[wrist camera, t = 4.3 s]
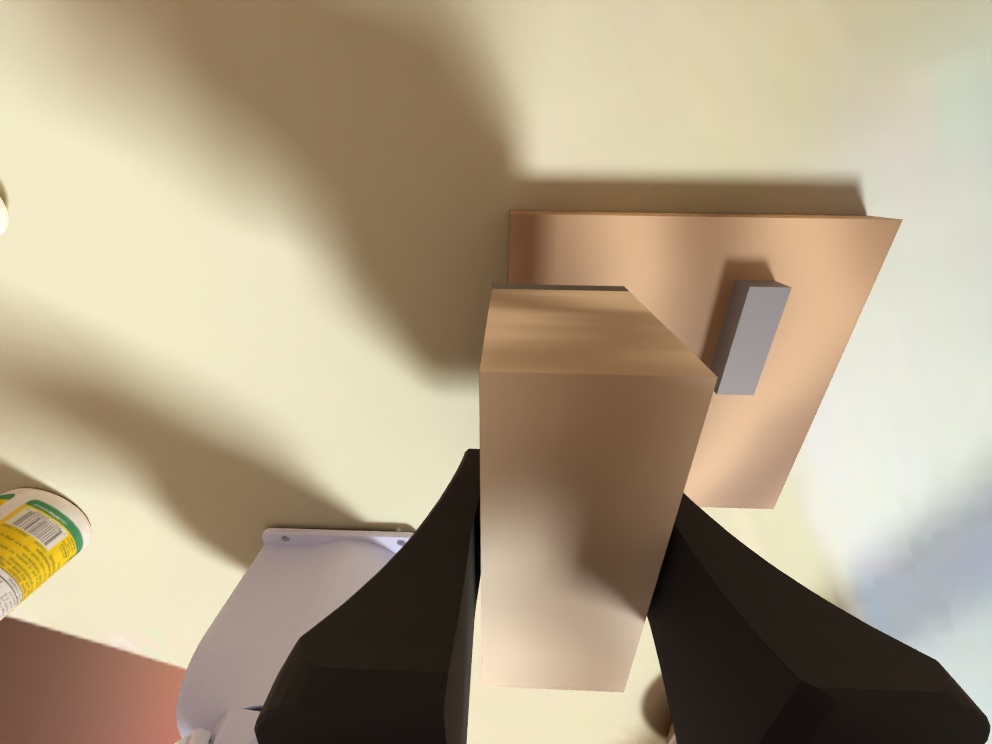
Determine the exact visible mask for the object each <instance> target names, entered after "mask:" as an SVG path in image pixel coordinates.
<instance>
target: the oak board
mask: <svg viewBox="0 0 992 744" xmlns="http://www.w3.org/2000/svg"><path fill="white" fill-rule="evenodd" d="M901 222H902V220H900V219H892V218H883V217H874V216H848V215H780V214H713V213H645V212H578V211H510V218H509V257H508V284H535V285H588V286H624V287H625V288H626V289H628V290H629V291H630V292H631V293H632V294H633V295H634V296H635V297H636V298H637V299H638V300H639V301H640V302H641V303H642V304H643V305H644V306H645V307H646V308H647V309H648V310H649V311H650V312H651V313H652V314H653V315H654V316H655V317H656V318H657V319H658V320H659V321H660V322H662V323H663V324H664V325H665V326H666V327H667V328H668V329H669V330H670V331H671V332H672V333H673V334H674V335H675V336H676V337H677V338H678V339H679V340H680V341H681V342H682V343H683V344H684V345H685V346H686V347H687V348H688V349H689V350H690V351H691V352H692V353H693V354H694V355H695V356H697V357H698V358H699V359H700V360H701V361H702V362H703V363H704V364H705V365H706V366H707V367H708V368H709V369H710V368H711V364H712V361H713V357H714V354H715V350H716V347H717V343H718V340H719V336H720V333H721V329H722V326H723V322H724V319H725V315H726V312H727V308H728V305H729V301H730V298H731V294H732V291H733V287H734V284H735V280H759V281H777V282H779V283H782V284H784V285H787V286H789V287H792V288H791V291H790V294H789V297H788V300H787V302H786V305H785V308H784V311H783V314H782V317H781V319H780V322H779V325H778V328H777V331H776V334H775V336H774V339H773V342H772V345H771V348H770V351H769V353H768V356H767V359H766V362H765V365H764V368H763V370H762V373H761V376H760V379H759V382H758V384H757V387H756V390H755V393H754V395H719V394H716V393H715V392H713V395H712V398H711V402H710V405H709V408H708V412H707V415H706V418H705V422H704V425H703V428H702V432H701V435H700V438H699V442H698V445H697V448H696V452H695V455H694V458H693V462H692V465H691V469H690V472H689V475H688V479H687V482H686V485H685V489H684V492H683V493H685V494H686V495H687V496H688V497H689V498H690V499H691V500H692V501H693V502H694V503H695V504H696V505H697V506H699V507H724V508H757V509H774V507H775V504H776V502H777V500H778V498H779V495H780V493H781V491H782V489H783V486H784V484H785V482H786V480H787V477H788V475H789V473H790V471H791V469H792V466H793V464H794V462H795V460H796V457H797V455H798V453H799V451H800V448H801V446H802V444H803V442H804V439H805V437H806V435H807V433H808V430H809V428H810V426H811V424H812V421H813V419H814V417H815V415H816V413H817V410H818V408H819V406H820V404H821V401H822V399H823V397H824V395H825V392H826V390H827V388H828V386H829V383H830V381H831V379H832V377H833V374H834V372H835V370H836V368H837V366H838V363H839V361H840V359H841V357H842V354H843V352H844V350H845V348H846V345H847V343H848V341H849V339H850V336H851V334H852V332H853V330H854V327H855V325H856V323H857V321H858V318H859V316H860V314H861V312H862V310H863V307H864V305H865V303H866V301H867V298H868V296H869V294H870V292H871V289H872V287H873V285H874V283H875V280H876V278H877V276H878V274H879V271H880V269H881V267H882V265H883V262H884V260H885V258H886V256H887V254H888V251H889V249H890V247H891V245H892V242H893V240H894V238H895V236H896V233H897V231H898V229H899V227H900V224H901Z"/></svg>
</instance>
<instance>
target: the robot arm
mask: <svg viewBox="0 0 992 744" xmlns="http://www.w3.org/2000/svg"><path fill="white" fill-rule="evenodd" d="M261 538H262V541H263V543H264V546H263V547H262V549H261V550H260V552H259V553H258V555H257V556H256V558H255V559H254V561H253V562H252V564H251V565H250V567H249V568H248V570H247V571H246V573H245V574H244V576H243V577H242V579H241V580H240V582H239V583H238V585H237V586H236V588H235V590H234V591H233V593H232V594H231V596H230V597H229V599H228V600H227V602H226V603H225V605H224V606H223V608H222V609H221V611H220V612H219V614H218V615H217V617H216V618H215V620H214V621H213V623H212V624H211V626H210V627H209V629H208V630H207V632H206V633H205V635H204V637H203V638H202V640H201V642H200V643H199V645H198V647H197V649H196V651H195V653H194V655H193V657H192V659H191V661H190V663H189V666H188V668H187V671H186V674H185V676H184V679H183V682H182V685H181V688H180V692H179V697H178V702H177V725H178V730H179V733H180V735H181V737H182V739H181V740H179V741H177V742H175V743H174V744H466V742H467V726H468V709H469V693H470V677H471V662H472V646H473V631H474V618H475V610H476V602H477V595H478V589H479V582H480V575H481V521H480V449H468V450H467V451H466V452H465V454H464V457H463V459H462V461H461V463H460V465H459V467H458V469H457V471H456V473H455V475H454V476H453V478H452V480H451V482H450V483H449V485H448V486H447V488H446V490H445V491H444V493H443V494H442V496H441V498H440V499H439V501H438V502H437V503H436V505H435V506H434V508H433V509H432V510H431V512H430V513H429V515H428V516H427V517H426V519H425V520H424V521H423V523H422V524H421V525H420V526H419V528H418V529H417V530H416V531H415V533H412V532H386V531H354V530H322V529H291V528H267V529H265V530H264V532H263V533H262V535H261ZM647 617H648V620H649V623H650V627H651V631H652V635H653V639H654V643H655V647H656V651H657V655H658V659H659V663H660V668H661V672H662V676H663V681H664V685H665V690H666V694H667V699H668V703H669V708H670V712H671V717H672V722H673V727H674V732H675V737H676V742H677V744H985V743H986V741H987V740H988V736H989V733H990V724H989V721H988V719H987V717H986V715H985V714H984V713H983V712H982V711H981V710H980V709H979V707H978V706H977V705H976V704H975V703H974V702H973V701H972V699H971V698H970V697H969V696H968V695H967V694H966V693H965V692H964V690H963V689H962V688H961V687H960V686H959V685H958V684H957V682H956V681H955V680H954V679H953V678H952V677H951V676H950V674H949V673H948V672H947V671H946V670H945V669H944V668H943V667H942V666H941V664H940V663H939V662H938V661H937V660H935V659H933V658H931V657H929V656H927V655H925V654H923V653H921V652H919V651H917V650H916V649H914V648H912V647H910V646H908V645H906V644H904V643H902V642H900V641H898V640H896V639H894V638H893V637H891V636H889V635H887V634H885V633H883V632H881V631H879V630H877V629H875V628H873V627H872V626H870V625H868V624H866V623H864V622H863V621H861V620H859V619H858V618H856V617H854V616H852V615H851V614H849V613H847V612H845V611H844V610H842V609H840V608H839V607H837V606H835V605H833V604H832V603H830V602H828V601H827V600H825V599H823V598H822V597H820V596H819V595H817V594H815V593H814V592H812V591H810V590H809V589H807V588H806V587H804V586H803V585H801V584H800V583H798V582H797V581H795V580H794V579H792V578H791V577H789V576H788V575H786V574H785V573H783V572H781V571H780V570H779V569H777V568H776V567H774V566H773V565H771V564H770V563H768V562H767V561H766V560H764V559H763V558H762V557H760V556H759V555H758V554H756V553H755V552H753V551H752V550H751V549H749V548H748V547H747V546H745V545H744V544H743V543H741V542H740V541H739V540H738V539H736V538H735V537H734V536H733V535H731V534H730V533H729V532H728V531H726V530H725V529H724V528H723V527H722V526H720V525H719V524H718V523H717V522H716V521H715V520H713V519H712V518H711V517H710V516H709V515H707V514H706V513H705V512H704V511H703V510H702V509H701V508H700V507H699V506H697V505H696V504H695V503H694V502H693V501H692V500H691V499H690V498H689V497H688V496H687V495H686V494H685V493H683V495H682V499H681V502H680V505H679V509H678V512H677V515H676V519H675V522H674V525H673V529H672V532H671V535H670V539H669V542H668V546H667V549H666V552H665V556H664V559H663V562H662V566H661V569H660V572H659V576H658V579H657V582H656V586H655V589H654V592H653V596H652V599H651V602H650V606H649V609H648V612H647Z"/></svg>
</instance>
